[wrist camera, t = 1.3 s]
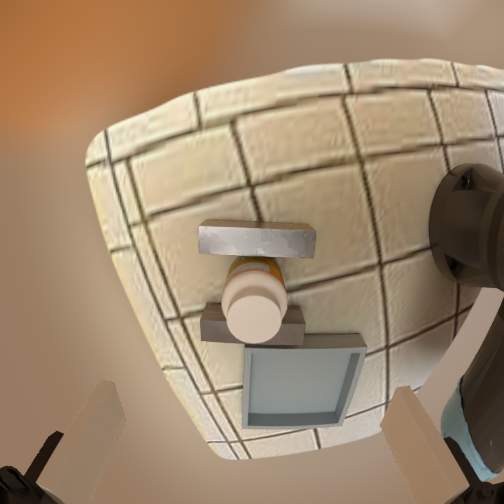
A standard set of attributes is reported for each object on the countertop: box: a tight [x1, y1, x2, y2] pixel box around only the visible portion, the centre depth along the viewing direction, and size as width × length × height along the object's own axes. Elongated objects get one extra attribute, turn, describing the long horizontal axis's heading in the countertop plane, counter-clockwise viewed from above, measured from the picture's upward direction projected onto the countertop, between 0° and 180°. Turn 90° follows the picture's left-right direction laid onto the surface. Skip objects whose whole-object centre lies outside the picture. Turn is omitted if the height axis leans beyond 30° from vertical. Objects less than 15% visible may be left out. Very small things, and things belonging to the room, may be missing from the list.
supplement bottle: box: [221, 255, 288, 344], centre depth 24 cm, size 5×5×10 cm
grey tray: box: [242, 334, 368, 429], centre depth 31 cm, size 13×13×3 cm
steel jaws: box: [199, 220, 316, 345], centre depth 27 cm, size 10×11×4 cm
